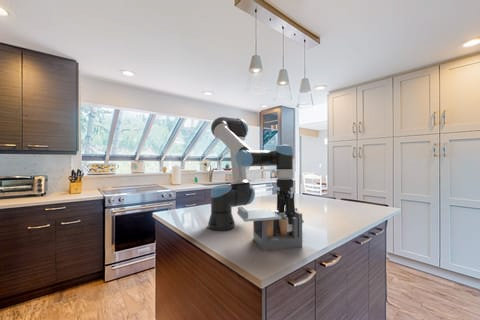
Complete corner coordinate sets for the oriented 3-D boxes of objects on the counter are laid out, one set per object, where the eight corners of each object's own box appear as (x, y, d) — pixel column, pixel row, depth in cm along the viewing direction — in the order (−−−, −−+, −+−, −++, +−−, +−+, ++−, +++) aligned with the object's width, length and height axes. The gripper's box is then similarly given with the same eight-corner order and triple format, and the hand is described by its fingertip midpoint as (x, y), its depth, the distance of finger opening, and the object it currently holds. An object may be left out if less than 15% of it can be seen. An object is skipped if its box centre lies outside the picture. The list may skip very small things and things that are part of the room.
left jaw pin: (262, 242, 100) (262, 216, 100) (271, 241, 101) (271, 215, 101) (265, 245, 96) (265, 218, 96) (275, 244, 97) (274, 218, 97)
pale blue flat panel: (237, 213, 103) (237, 206, 103) (269, 211, 106) (269, 204, 106) (244, 221, 89) (244, 213, 89) (281, 218, 93) (281, 210, 93)
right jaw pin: (278, 240, 102) (278, 215, 102) (287, 239, 103) (287, 214, 103) (282, 244, 98) (282, 217, 98) (291, 243, 99) (291, 216, 99)
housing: (253, 239, 104) (253, 208, 104) (287, 235, 109) (287, 206, 109) (263, 250, 91) (263, 216, 91) (302, 246, 95) (302, 213, 95)
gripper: (269, 177, 109) (270, 223, 108) (286, 180, 90) (287, 236, 89) (283, 177, 111) (284, 222, 110) (303, 179, 91) (304, 234, 91)
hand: (285, 228), depth 100 cm, fingers open, 7 cm apart
